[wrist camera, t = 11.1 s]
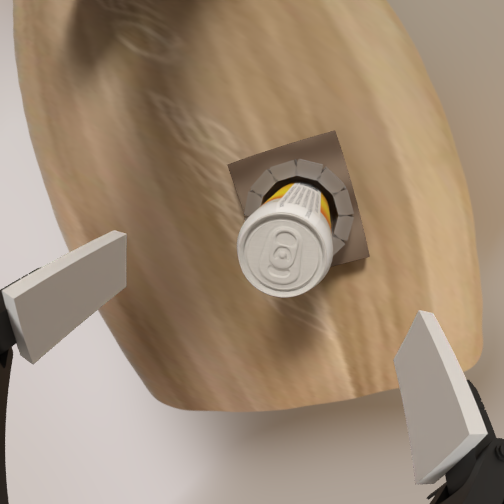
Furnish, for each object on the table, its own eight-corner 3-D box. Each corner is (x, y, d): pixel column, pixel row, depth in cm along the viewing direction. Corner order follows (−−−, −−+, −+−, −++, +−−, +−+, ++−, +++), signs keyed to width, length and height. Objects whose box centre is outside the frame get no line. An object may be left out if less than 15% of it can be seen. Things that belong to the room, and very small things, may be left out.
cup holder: (233, 163, 34) (218, 166, 29) (334, 132, 30) (336, 128, 25) (271, 273, 37) (262, 293, 32) (366, 249, 34) (373, 266, 29)
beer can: (267, 229, 33) (225, 289, 19) (278, 175, 31) (240, 195, 17) (321, 243, 32) (318, 313, 18) (334, 188, 30) (345, 220, 16)
